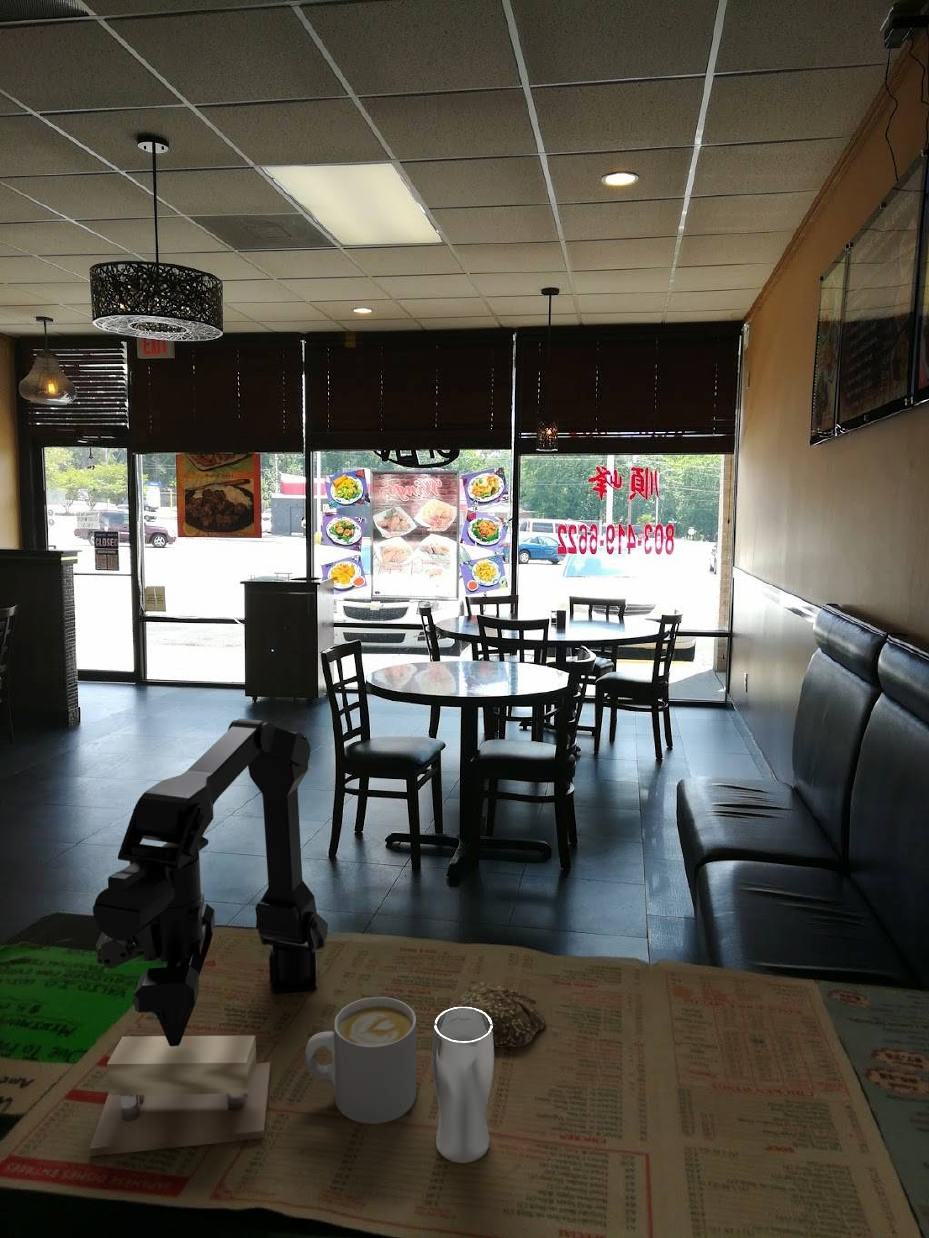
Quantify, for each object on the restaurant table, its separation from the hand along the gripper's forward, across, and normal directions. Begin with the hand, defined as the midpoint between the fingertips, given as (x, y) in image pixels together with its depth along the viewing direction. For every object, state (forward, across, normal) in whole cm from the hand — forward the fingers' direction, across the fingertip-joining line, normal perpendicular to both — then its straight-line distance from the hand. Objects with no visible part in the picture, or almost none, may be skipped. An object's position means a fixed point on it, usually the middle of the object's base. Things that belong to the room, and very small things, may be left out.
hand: (181, 1020), depth 104 cm
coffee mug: (+12, 0, +21) cm, 24 cm away
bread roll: (+12, -12, +40) cm, 44 cm away
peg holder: (+12, 0, 0) cm, 12 cm away
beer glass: (+12, +10, +32) cm, 36 cm away
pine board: (+8, 0, 0) cm, 8 cm away
